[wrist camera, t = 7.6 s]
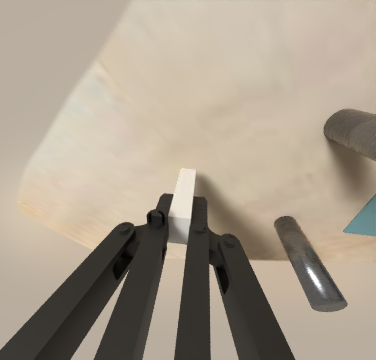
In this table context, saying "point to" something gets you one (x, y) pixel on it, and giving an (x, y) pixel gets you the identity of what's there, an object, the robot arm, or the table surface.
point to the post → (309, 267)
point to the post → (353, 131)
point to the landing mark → (364, 220)
